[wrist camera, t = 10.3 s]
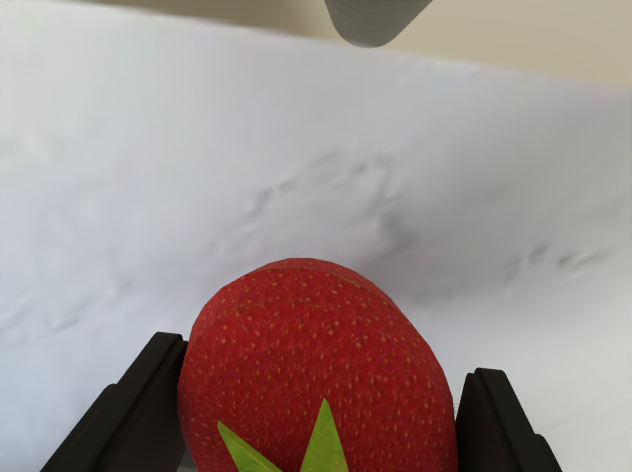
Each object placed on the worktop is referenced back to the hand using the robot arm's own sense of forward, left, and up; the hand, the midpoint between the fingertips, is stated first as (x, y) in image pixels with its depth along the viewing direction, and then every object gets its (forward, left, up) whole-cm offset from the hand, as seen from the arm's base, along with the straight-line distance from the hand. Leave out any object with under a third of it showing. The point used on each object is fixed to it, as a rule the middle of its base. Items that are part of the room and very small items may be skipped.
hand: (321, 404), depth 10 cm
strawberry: (0, 0, -5) cm, 5 cm away
